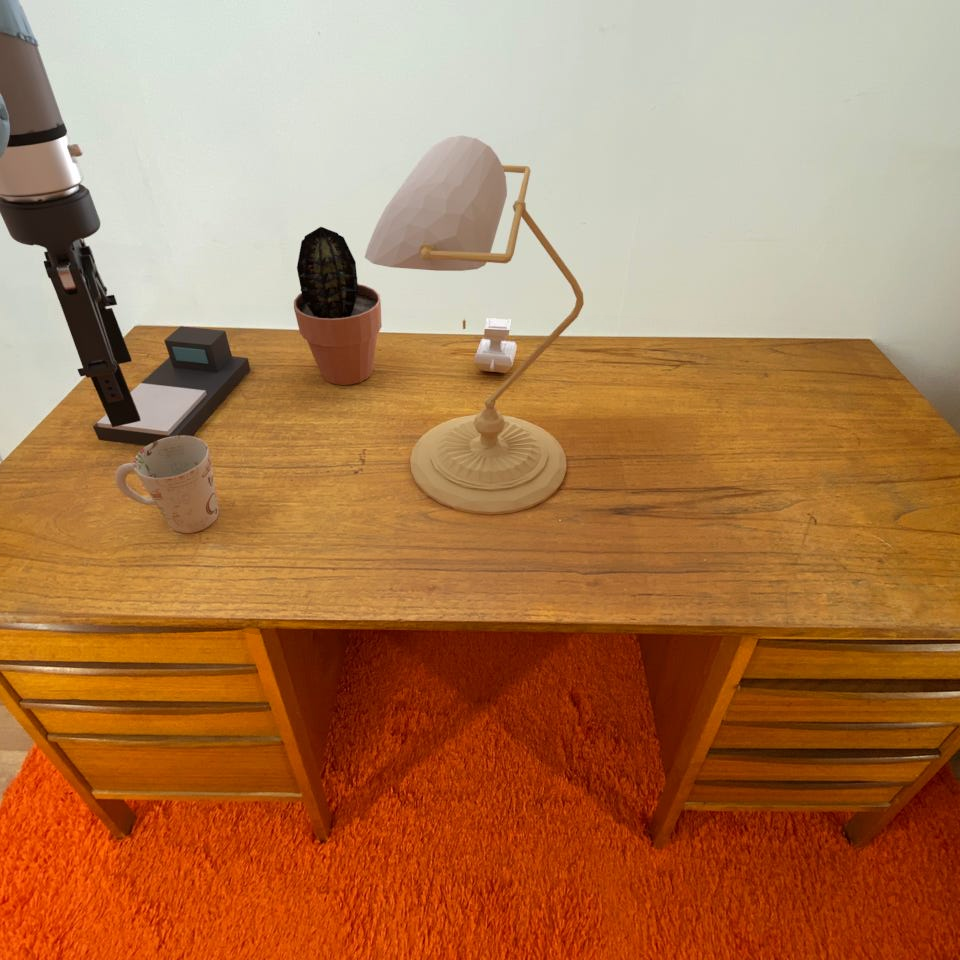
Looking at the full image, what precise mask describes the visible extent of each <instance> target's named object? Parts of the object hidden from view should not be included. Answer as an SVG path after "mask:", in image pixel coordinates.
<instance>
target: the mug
mask: <svg viewBox="0 0 960 960" xmlns="http://www.w3.org/2000/svg"><path fill="white" fill-rule="evenodd" d="M210 454H211V453H210V449H209V446H208V444H207V443H206V442H205V441H204V440H203V439H201V438H199V437H196V436H194V435H193V436H184V435H182V436H171V437H167V438H163V439H160V440H157V441H155V442H153V443H151V444H149V445H147V446H146V445H145V446H144V447H143V448H142V449H141V450H139V452H138V453H137V454H136V455H135V457H134V460H133V462H127V463H122V464H121V465H119V467H118V468H117V469H116V471H115V475H114V481H115V484H116V486H117V488H118V490H119V491H120V492H121V493H122V494H123V495H124V496H126V497H127V498H129V499H130V500H132V501H135V502H137V503H139V504H142V505H146V506H156V507H157V508H158V510H159V512H160V513H161V515H162V516H163V518H164V519H165V522H167V524H168V525H169V527H170V528H171V529H172V530H173V531H175V532H177V533H180V534H192V533H193V534H194V533H197V532H200V531H203V530H205V529H207V528H209V527H210V526H212V524H214V523H215V522H216V520H217V518H218V517H219V503H218V497H217V491H216V486H215V485H216V483H215V478H214V477H215V476H214V471H213V465H212V458H211V455H210ZM131 473H135V475H136V476H137V477H138V479H139V480H140V482H141V483H142V485H143V487H144V489H145V490H146V492H147V493H148V495H149V496H150V498H149V497H146V496H143V495H140V494H139V493H137V492H135V490H133V489H132V488H131V487H130V486H129V485H128V483H127V477H128V476H129V474H131Z"/></svg>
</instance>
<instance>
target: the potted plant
mask: <svg viewBox="0 0 960 960" xmlns="http://www.w3.org/2000/svg"><path fill="white" fill-rule="evenodd" d="M296 271H297V276H298V281H299V286H300V292H301V293H299V294H298V295H297V296H295V298H294V300H293V309H294V314H295V319H296V322H297V327H298V331H299V334H300V335H301V337H303V339H304V340H305V341H307V345H308V347H309V349H310V351H311V354H312V357H313V359H314V361H315V364H316V366H317V369H318V371H319V374H320V376H321V377H322V379H323V380H324V381H326V382H328V383H330V384H334V385H336V386H337V385H338V386H349V385H355V384H359V383H361V382H363V381H366V380H367V379H369V377H370V376H372V374H373V372H374V365H375V357H376V350H377V349H376V348H377V340H378V334H379V333H380V331H381V329H382V327H383V325H382V304H381V303H382V301H381V296H380V293H379V292H377V290H375V289H374V288H372V287H370V286H368V285H364V284H360V283H359V282H358V274H357V264H356V260H355V258H354V256H353V253H352V251H351V249H350V247H349V245H348V243H347V241H346V239H345V237H344V236H342V235H340V234H339V232H336V231H333V230H331V229H328V228H326V227H323V226H319V227H318V228H316V229H314V230H313V231H311V232H309V233H307V234H306V235H304V238H303V239H301V242H300V247H299V253H298V259H297V265H296Z"/></svg>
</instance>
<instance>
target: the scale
mask: <svg viewBox="0 0 960 960" xmlns="http://www.w3.org/2000/svg"><path fill="white" fill-rule="evenodd" d="M163 342H164V345H165V347H166V350H167V353H168V358H167V359H166V360H164V361H163V362H162V363H161V364H159V366H158V367H156V369H154V370H153V371H152V372H151V373H150V374H148V376H147V377H146V378H144V379H143V380H142V381H141V382H140V383H139V384H138V385H136V386H135V387H134V388H133V389H132V390H130V393H131V396H132V398H133V401H134V403H135V406H136V408H137V411H138V413H139V416H140V420H141V421H138V422H134V423H129V424H125V425H121V426H116V427H112V425H111V423H110V421H109V418H108V416H107V414H106V413H105V414H104V415H103V416H102V417H101V418H100V419H98V420H97V422H96V423H95V424H93V425H92V429H93V431H94V432H95V435H96V437H97V439H98V440H100V441H106V442H107V441H108V442H115V443H116V442H117V443H124V444H131V445H139V446H145V447H146V446H147V445H149V444H151V443H153V442H155V441H157V440H160V439H163V438H167V437H171V436H182V435H184V436H193V437H194V435H195V434H196V432H197V431H198V430H199V429H200V428H201V427H202V426H203V425H204V424H205V422H207V420H208V419H209V418H210V417H211V416H212V414H213V413H214V412H215V411H216V410H217V409H218V408H219V407H220V406H221V405H222V403H223V402H224V401H225V400H226V399H227V397H229V395H230V394H231V393H232V392H233V391H234V390H235V388H236V387H237V386H238V385H239V384H240V383H241V382H242V381H243V379H244V378H245V377H246V376H247V375H248V374H249V373H250V372H251V370H252V369H251V366H250V361H249V358H248V357H243V356H234V355H232V351H231V347H230V343H229V340H228V336H227V332H226V330H220V329H211V328H203V327H202V328H201V327H191V326H183V325H181V326H179V327H178V328H177V329H175V330H174V331H173V332H172V333H170V334H169V335H168V336H167V337H166V338H165V339H164V340H163Z"/></svg>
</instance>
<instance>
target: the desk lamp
mask: <svg viewBox="0 0 960 960" xmlns="http://www.w3.org/2000/svg"><path fill="white" fill-rule="evenodd" d="M506 173H514V174H515V173H516V174H523V177H522V181H521V184H520V185H521V186H520V190H519V193H518V198H517V199H516V200H514V203H513V204H512V209H513V212H514V214H513V219H512V223H511V227H510V231H509V236H508V241H507V245H506V249H505V253H499V252H498V253H497V252H492V249H493V246H494V242H495V239H496V236H497V231H498V228H499V225H500V221H501V217H502V214H503V211H504V207H505V204H506V201H507V197H508V186H507V177H506ZM530 176H531V168H530V166H528V165H513V164H512V165H511V164H510V165H508V164H502V162H501V160H500V159H499V157H498V154H496V152H495V151H494V149H493V148H492V147H491V146H490V145H488V144H486V143H485V142H483V141H482V140H480V139H478V138H477V137H472V136H467V135H456V136H455V135H454V136H449V137H446V138H445V139H443V140H441V141H439V142H437V143H435V144H434V145H432V146H431V147H430V148H429V149H428V150H427V151H426V152H425V153H424V154H423V156H421V158H420V160H419V161H418V162H417V163H416V165H415V166H414V168H413V169H412V171H411V172H410V173H409V175H408V176H407V178H406V179H405V180H404V181H403V183H402V184H401V186H400V187H399V188H398V189H397V191H396V192H395V193H394V195H393V196H392V198H391V199H390V201H389V202H388V203H387V205H386V206H385V208H384V210H383V212H382V213H381V215H380V217H379V219H378V221H377V223H376V225H375V227H374V229H373V233H372V234H371V236H370V239H369V242H368V244H367V247H366V249H365V254H364V258H365V260H367V261H369V262H370V263H371V264H374V265H377V266H382V267H387V268H396V269H407V270H408V269H409V270H422V271H423V270H424V271H434V272H436V271H442V272H445V271H446V272H466V271H473V270H478V269H480V268H482V267H484V266H486V264H487V263H490V264H491V263H492V264H508V263H509V262H511V261H512V259H513V256H514V254H515V251H516V250H515V249H516V244H517V239H518V234H519V230H520V226H521V225H520V224H521V219H523V221H524V222H525V223H526V225H527V226H528V228H529V229H530V230H531V232H532V233H533V235H534V236H535V237H536V239H537V240H538V241H539V243H540V244H541V246H542V247H543V249H544V250H545V251H546V253H547V254H548V256H549V257H550V258H551V260H552V261H553V263H554V264H555V265H556V267H557V268H558V269H559V271H560V272H561V273H562V275H563V276H564V278H565V280H567V282H568V283H569V285H570V286H571V290H572V292H573V293H574V296H575V298H576V300H575V303H574V304H575V305H574V307H573V309H572V311H571V312H570V314H568V316H567V317H566V318H565V319H564V320H563V321H562V322H561V323H560V324H559V325H558V326H557V327H556V328H555V329H554V330H553V331H552V332H551V333H550V335H548V336H547V338H546V339H545V340H544V341H542V343H541V344H539V346H538V347H537V348H536V349H535V350H534V351H533V352H532V353H531V354H530V355H529V356H528V357H527V358H526V359H525V360H524V361H523V362H522V363H521V364H520V366H518V368H516V370H515V371H514V372H512V374H511V375H510V376H509V377H508V378H507V379H506V380H505V381H504V382H503V383H502V384H501V385H500V386H499V387H498V388H497V389H496V390H495V391H494V392H493V393H492V394H491V395H490V396H489V397H487V398H485V399H484V406H483V408H482V410H480V411H479V412H478V413H476V414H470V415H465V416H459V417H455V418H452V419H448V420H445V421H444V422H441V423H439V424H437V425H436V426H434V427H432V428H430V429H428V430H427V431H426V432H425V433H424V434H423V435H422V436H421V437H420V438H418V440H417V441H416V443H415V445H414V446H413V447H412V450H411V454H410V459H409V464H410V472H411V476H412V478H413V479H414V481H415V482H414V483H416V486H418V488H420V489H421V491H422V492H423V493H424V494H425V495H426V496H428V497H429V498H431V499H432V500H434V501H435V502H437V503H438V504H439V505H443V506H445V507H448V508H451V509H453V510H455V511H460V512H463V513H469V514H473V515H491V516H495V515H503V514H513V513H517V512H521V511H524V510H528V509H531V508H533V507H534V506H536V505H539V504H542V503H543V502H545V501H546V500H547V499H548V498H550V497H551V496H552V495H553V494H555V493H556V492H557V491H558V490H559V488H560V486H561V485H562V483H563V482H564V479H565V476H566V472H567V469H568V468H567V456H566V454H565V452H564V449H563V447H562V445H561V444H560V443H559V441H557V439H556V438H555V437H554V436H553V435H552V434H550V433H549V432H548V431H547V430H545V429H544V428H542V427H541V426H538V425H536V424H534V423H532V422H530V421H527V420H523V419H522V418H517V417H514V416H511V415H504V414H502V413H501V412H499V411H498V410H497V407H496V401H497V400H498V399H499V398H500V397H501V396H502V395H503V394H504V393H505V392H506V391H507V390H508V389H509V388H510V387H511V386H512V385H513V384H514V383H515V381H517V380H518V379H519V378H520V376H522V374H523V373H524V372H525V371H526V370H527V369H528V368H529V367H530V366H531V365H532V364H534V362H535V361H536V360H537V359H538V358H539V357H540V356H541V355H542V354H543V353H544V352H545V351H546V350H547V349H548V348H549V347H550V346H551V345H552V344H553V342H555V341H556V340H557V338H559V336H560V335H562V334H563V332H565V331H566V329H567V328H568V327H569V326H570V325H572V323H573V322H574V321H576V320H577V318H578V317H579V315H580V313H581V311H582V309H583V306H584V304H585V303H584V292H583V291H582V287H580V284H579V282H578V280H577V279H576V277H575V276H574V275H573V273H572V272H571V270H570V269H569V268H568V266H567V265H566V263H565V261H564V260H563V259H562V257H560V255H559V254H558V252H557V251H556V250H555V248H554V247H553V246H552V244H551V242H550V241H549V240H548V238H547V237H546V236H545V234H544V233H543V231H542V230H541V228H540V227H539V226H538V224H537V223H536V222H535V221H534V219H533V218H532V216H531V215H530V214H529V212H528V211H527V205H526V202H525V199H526V195H527V191H528V185H529V181H530ZM466 324H467V323H466V319H462V329H463V330H466V326H467V325H466Z"/></svg>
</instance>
